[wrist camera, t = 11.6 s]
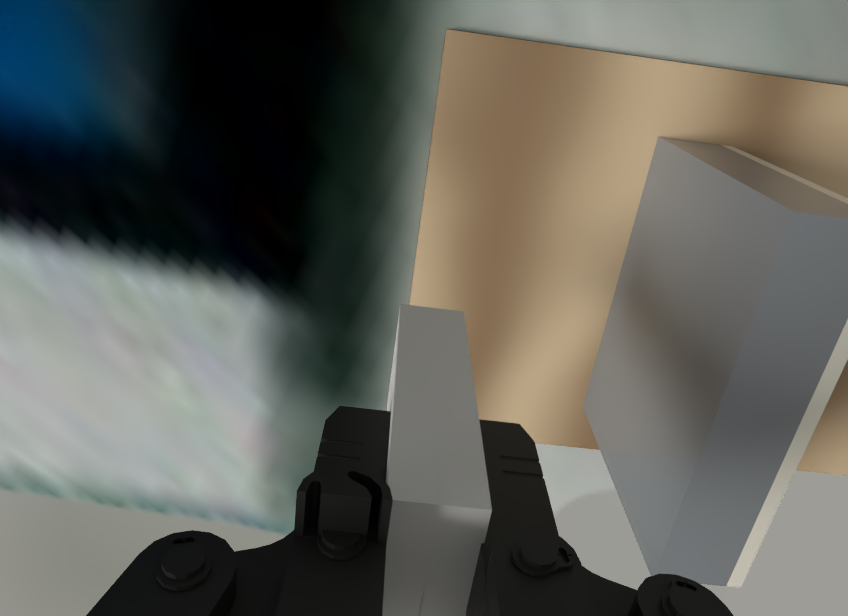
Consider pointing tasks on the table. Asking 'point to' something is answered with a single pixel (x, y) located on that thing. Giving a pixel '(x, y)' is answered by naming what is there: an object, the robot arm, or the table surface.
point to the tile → (718, 353)
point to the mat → (584, 205)
